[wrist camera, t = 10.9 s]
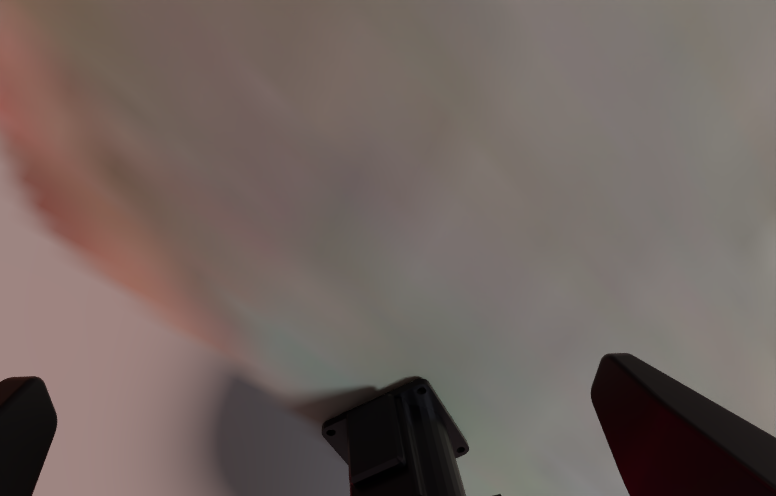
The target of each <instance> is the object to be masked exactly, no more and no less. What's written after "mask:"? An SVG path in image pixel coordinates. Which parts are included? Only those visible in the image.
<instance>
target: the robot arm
mask: <svg viewBox="0 0 776 496" xmlns="http://www.w3.org/2000/svg"><path fill="white" fill-rule="evenodd" d="M422 387H423V389H419V388H422ZM591 399H592V403H593V406H594V408H595V411H596V413H597V416H598V419H599V421H600V424H601V426H602V429H603V431H604V434H605V436H606V439H607V442H608V444H609V447H610V449H611V452H612V454H613V457H614V459H615V462H616V465H617V467H618V470H619V472H620V475H621V477H622V479H623V482H624V484H625V486H626V488H627V490H628V493H629V495H630V496H776V438H775V437H774V436H772V435H770V434H768V433H767V432H765V431H763V430H761V429H760V428H758V427H756V426H755V425H753V424H751V423H749V422H748V421H746V420H744V419H742V418H741V417H739V416H737V415H735V414H734V413H732V412H730V411H728V410H727V409H725V408H723V407H722V406H720V405H718V404H716V403H715V402H713V401H711V400H709V399H708V398H706V397H704V396H702V395H701V394H699V393H697V392H696V391H694V390H692V389H690V388H689V387H687V386H685V385H683V384H682V383H680V382H678V381H676V380H675V379H673V378H671V377H669V376H668V375H666V374H664V373H663V372H661V371H659V370H657V369H656V368H654V367H652V366H650V365H649V364H647V363H645V362H643V361H642V360H640V359H638V358H637V357H635V356H633V355H631V354H628V353H611V354H606V355H604V356H603V357H602V359H601V361H600V364H599V367H598V370H597V373H596V376H595V379H594V381H593V384H592V388H591ZM56 427H57V415H56V412H55V409H54V407H53V404H52V401H51V398H50V396H49V393H48V391H47V388H46V386H45V383H44V381H43V380H42V379H41V378H39V377H35V376H29V377H11V378H7V379H5V380H3V381H1V382H0V496H32V494H33V491H34V489H35V486H36V483H37V480H38V478H39V475H40V472H41V470H42V467H43V464H44V461H45V459H46V456H47V453H48V451H49V448H50V445H51V443H52V440H53V437H54V434H55V431H56ZM330 429H333V430H330ZM322 435H323V437H324V438H325V439H326V440H327V441H328V443H329V444H330V445H331V446H332V447H333V448H334V449H335V451H336V452H337V453H338V454H339V455H340V456H341V457H342V458H343V460H344V461H345V462H346V463H347V464H348V465H349V483H350V496H466V494H465V490H464V487H463V483H462V480H461V476H460V472H459V469H458V465H457V462H456V458H458V457H460V456H462V455H465V454H466V453H467V452H468V451H469V447H468V443H467V441H466V439H465V438H464V436H463V434H462V433H461V431H460V430H459V428H458V427H457V425H456V424H455V422H454V420H453V419H452V417H451V416H450V414H449V413H448V411H447V410H446V408H445V406H444V405H443V403H442V402H441V400H440V399H439V397H438V396H437V394H436V392H435V391H434V389H433V388H432V386H431V385H430V383H429V382H428V381H427V380H426V379H417V380H415V381H413V382H410V383H408V384H406V385H404V386H402V387H400V388H397V389H395V390H393V391H391V392H389V393H387V394H385V395H382V396H380V397H378V398H376V399H374V400H372V401H369V402H367V403H365V404H363V405H361V406H359V407H357V408H354V409H352V410H350V411H348V412H346V413H344V414H341V415H339V416H337V417H335V418H333V419H331V420H328V421H326V422H325V423H324V424H323V425H322ZM494 496H501V494H498V495H494Z"/></svg>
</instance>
